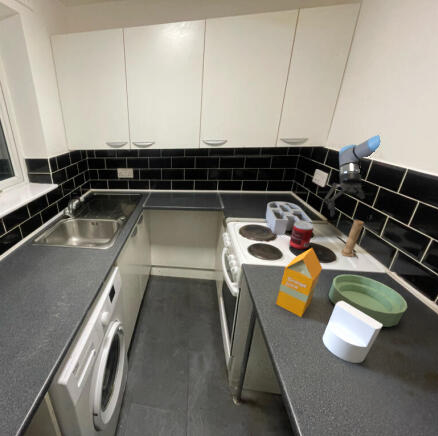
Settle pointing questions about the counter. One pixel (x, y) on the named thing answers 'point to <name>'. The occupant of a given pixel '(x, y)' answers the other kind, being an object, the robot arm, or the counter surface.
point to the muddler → (352, 238)
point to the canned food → (301, 235)
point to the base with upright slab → (350, 333)
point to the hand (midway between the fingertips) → (351, 217)
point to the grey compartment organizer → (284, 216)
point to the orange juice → (299, 282)
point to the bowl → (369, 298)
